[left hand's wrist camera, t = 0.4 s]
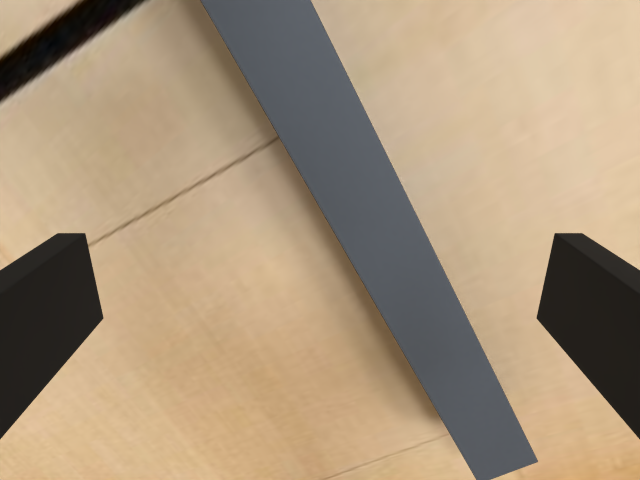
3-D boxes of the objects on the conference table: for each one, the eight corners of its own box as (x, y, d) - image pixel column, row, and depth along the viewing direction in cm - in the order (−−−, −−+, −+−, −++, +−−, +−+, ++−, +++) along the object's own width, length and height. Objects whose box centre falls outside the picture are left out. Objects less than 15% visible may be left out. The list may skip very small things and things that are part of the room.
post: (138, -142, 29) (78, -212, 22) (208, -195, 28) (169, -286, 21) (454, 419, 47) (478, 484, 40) (503, 399, 46) (538, 462, 39)
